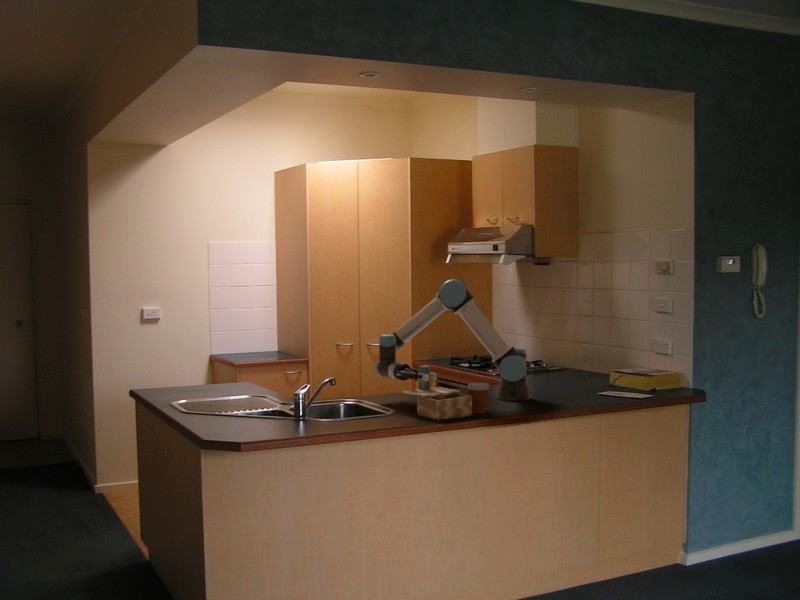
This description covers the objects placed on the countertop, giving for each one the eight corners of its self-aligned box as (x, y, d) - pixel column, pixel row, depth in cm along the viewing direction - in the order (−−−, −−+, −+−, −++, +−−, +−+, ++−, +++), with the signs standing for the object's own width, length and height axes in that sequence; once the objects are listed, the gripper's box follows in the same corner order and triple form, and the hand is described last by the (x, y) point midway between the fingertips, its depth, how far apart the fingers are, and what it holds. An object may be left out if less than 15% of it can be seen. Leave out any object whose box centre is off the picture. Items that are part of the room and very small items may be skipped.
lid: (438, 388, 371) (438, 363, 371) (460, 392, 359) (459, 367, 358) (402, 392, 360) (402, 367, 360) (424, 397, 348) (423, 371, 347)
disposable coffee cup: (472, 414, 354) (472, 386, 353) (464, 410, 363) (463, 382, 362) (493, 413, 356) (493, 384, 356) (484, 409, 365) (484, 381, 365)
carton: (451, 410, 364) (450, 391, 363) (472, 415, 352) (471, 396, 352) (417, 415, 353) (417, 396, 353) (437, 420, 342) (437, 400, 341)
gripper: (415, 377, 383) (447, 384, 364) (384, 381, 373) (416, 388, 354) (414, 361, 383) (447, 366, 363) (384, 364, 373) (416, 370, 354)
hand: (431, 377), depth 359 cm, fingers closed on lid, 3 cm apart
